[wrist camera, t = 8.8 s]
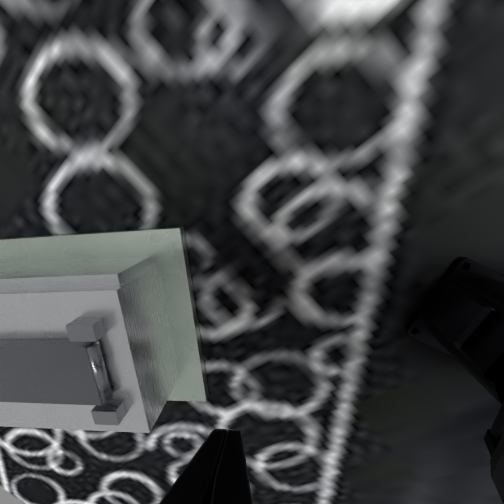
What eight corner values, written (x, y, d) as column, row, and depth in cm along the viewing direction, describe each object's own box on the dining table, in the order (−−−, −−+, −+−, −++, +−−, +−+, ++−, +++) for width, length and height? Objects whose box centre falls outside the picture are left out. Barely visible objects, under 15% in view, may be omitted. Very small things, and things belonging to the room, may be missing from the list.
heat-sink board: (183, 226, 18) (98, 262, 10) (208, 393, 22) (162, 526, 14) (-54, 242, 21) (-284, 281, 13) (4, 389, 25) (-143, 497, 16)
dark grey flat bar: (101, 338, 15) (91, 347, 14) (116, 395, 16) (107, 405, 15) (-93, 339, 17) (-110, 346, 16) (-68, 389, 18) (-84, 398, 17)
